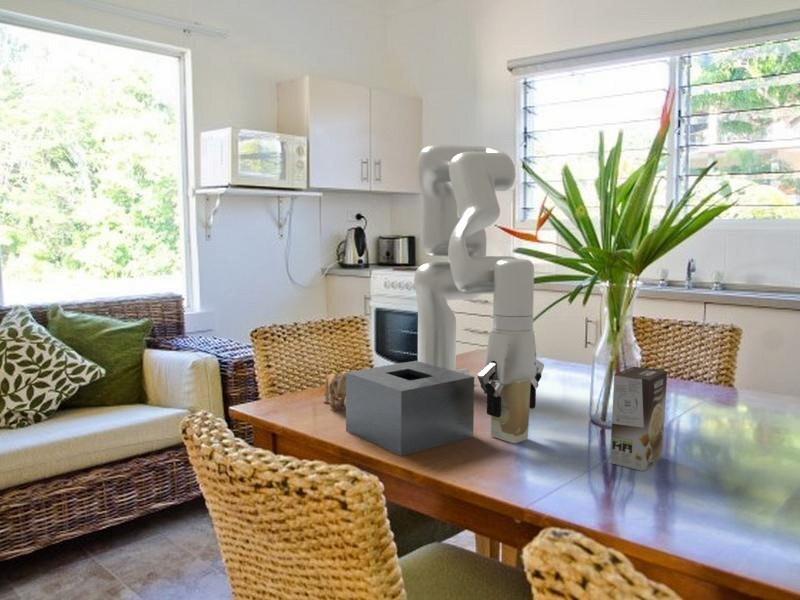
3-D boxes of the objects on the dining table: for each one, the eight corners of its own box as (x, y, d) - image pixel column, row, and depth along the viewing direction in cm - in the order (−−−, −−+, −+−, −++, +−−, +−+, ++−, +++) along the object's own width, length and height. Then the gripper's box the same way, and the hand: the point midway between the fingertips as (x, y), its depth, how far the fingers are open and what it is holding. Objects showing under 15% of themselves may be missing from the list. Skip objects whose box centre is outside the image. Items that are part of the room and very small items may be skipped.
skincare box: (489, 436, 132) (490, 375, 130) (503, 431, 135) (504, 372, 133) (516, 444, 127) (518, 381, 126) (529, 439, 130) (531, 377, 129)
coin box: (415, 414, 146) (415, 360, 145) (473, 436, 132) (474, 376, 130) (346, 430, 135) (345, 372, 134) (401, 456, 121) (401, 391, 119)
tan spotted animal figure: (359, 412, 148) (358, 372, 147) (336, 415, 145) (336, 375, 144) (334, 396, 161) (334, 359, 160) (313, 399, 158) (313, 361, 157)
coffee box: (645, 472, 114) (650, 379, 112) (608, 463, 118) (612, 374, 116) (663, 457, 121) (668, 370, 119) (628, 449, 125) (632, 365, 123)
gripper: (528, 318, 136) (526, 400, 138) (466, 325, 126) (465, 414, 128) (557, 322, 130) (555, 408, 132) (495, 330, 120) (494, 423, 122)
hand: (511, 411), depth 130 cm, fingers open, 9 cm apart
